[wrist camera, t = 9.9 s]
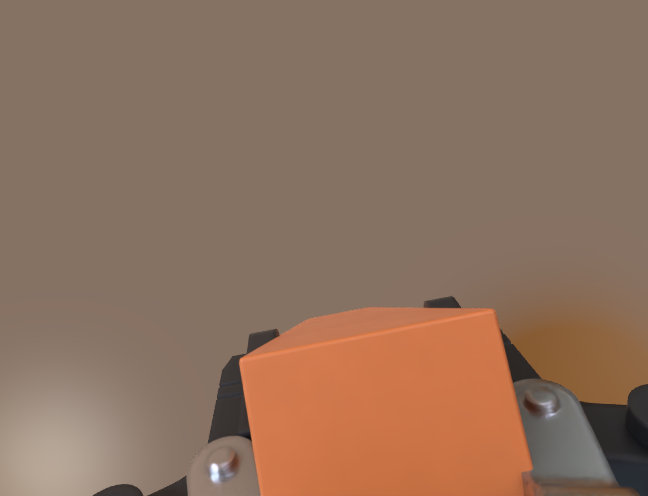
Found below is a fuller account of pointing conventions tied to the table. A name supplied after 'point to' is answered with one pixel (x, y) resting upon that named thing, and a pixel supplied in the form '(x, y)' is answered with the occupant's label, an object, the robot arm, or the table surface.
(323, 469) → the box
